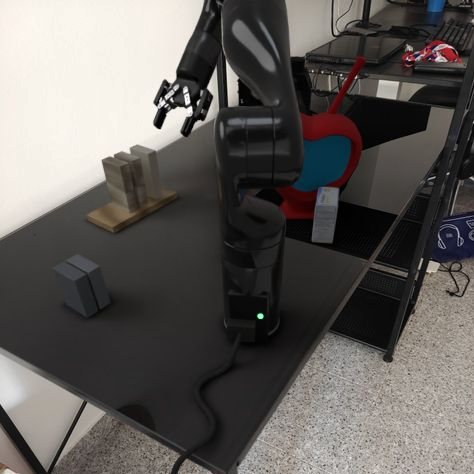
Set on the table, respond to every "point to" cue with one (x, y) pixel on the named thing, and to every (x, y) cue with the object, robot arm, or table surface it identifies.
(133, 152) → the cream book
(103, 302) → the grey books
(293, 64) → the typewriter
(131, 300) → the table surface
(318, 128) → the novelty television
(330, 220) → the medicine box
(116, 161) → the rack
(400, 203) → the table surface
